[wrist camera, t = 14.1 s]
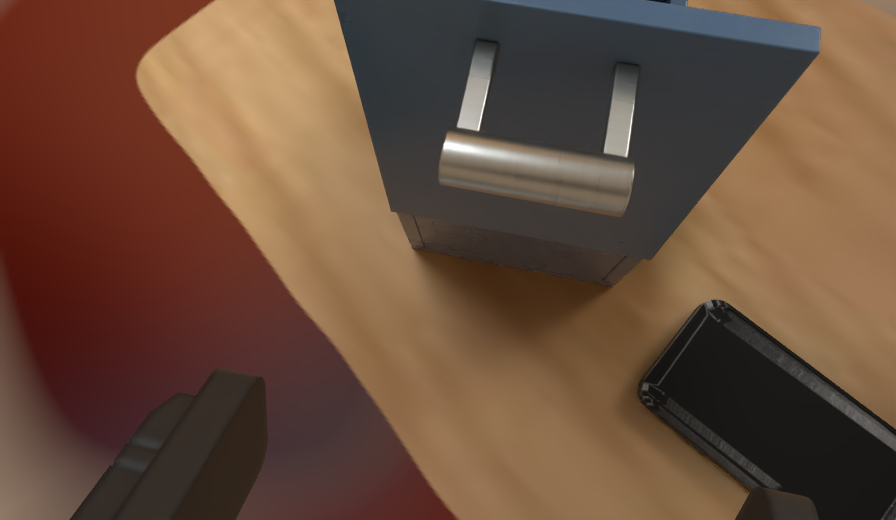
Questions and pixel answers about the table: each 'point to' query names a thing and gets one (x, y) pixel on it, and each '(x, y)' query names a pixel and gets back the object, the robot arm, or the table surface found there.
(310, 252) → the table surface
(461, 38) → the freezer lid
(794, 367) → the phone
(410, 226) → the freezer
